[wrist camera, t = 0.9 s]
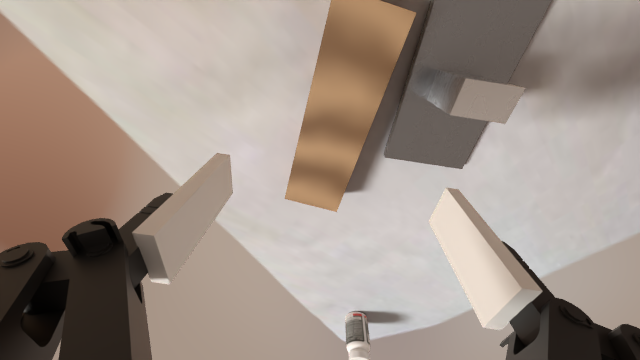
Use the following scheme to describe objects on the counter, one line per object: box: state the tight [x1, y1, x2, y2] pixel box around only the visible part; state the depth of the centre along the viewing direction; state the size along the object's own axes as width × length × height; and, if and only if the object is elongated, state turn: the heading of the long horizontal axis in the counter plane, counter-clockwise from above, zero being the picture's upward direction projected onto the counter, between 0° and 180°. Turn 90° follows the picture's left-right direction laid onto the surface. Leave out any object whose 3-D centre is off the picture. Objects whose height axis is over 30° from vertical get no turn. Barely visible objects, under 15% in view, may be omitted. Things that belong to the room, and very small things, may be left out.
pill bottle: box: [345, 312, 370, 360], centre depth 47 cm, size 5×5×8 cm
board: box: [285, 0, 416, 212], centre depth 26 cm, size 22×7×4 cm, turn 165°
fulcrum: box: [384, 0, 552, 169], centre depth 22 cm, size 18×10×7 cm, turn 172°
